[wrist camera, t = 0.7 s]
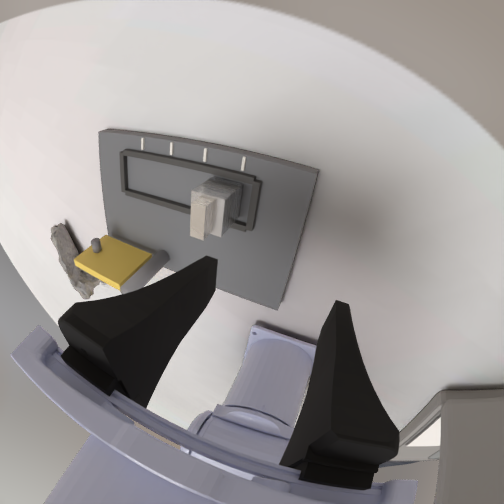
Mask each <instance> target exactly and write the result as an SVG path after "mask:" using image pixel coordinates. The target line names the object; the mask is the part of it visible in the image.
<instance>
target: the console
mask: <svg viewBox="0 0 504 504" xmlns="http://www.w3.org/2000/svg"><path fill="white" fill-rule="evenodd" d="M99 156H100V171H101V182H102V192H103V201H104V209H105V216H106V223H107V230H108V236H110V237H112V238H115V239H117V240H119V241H122V242H124V243H126V244H129V245H131V246H134V247H136V248H138V249H141V250H143V251H146V252H148V253H151V254H152V258H151V259H150V260H148V261H147V262H146V263H145V264H144V265H143V266H142V267H141V268H140V269H139V270H138V271H137V272H136V273H135V274H134V275H133V276H132V277H130V278H129V279H128V280H127V281H126V282H125V283H124V284H123V285H122V286H121V287H120V291H121V293H122V294H125V293H129V292H132V291H135V290H138V289H141V288H143V287H144V286H145V285H146V284H147V283H148V282H149V281H150V279H151V278H152V277H153V276H154V275H155V274H156V273H157V272H158V271H159V270H160V269H161V268H162V267H165V268H167V269H170V270H172V271H174V272H177V271H179V270H181V269H183V268H185V267H187V266H188V265H190V264H192V263H194V262H195V261H197V260H199V259H201V258H203V257H204V256H206V255H207V256H210V257H213V258H216V259H218V265H217V277H216V288H217V289H220V290H223V291H225V292H228V293H230V294H233V295H236V296H239V297H241V298H244V299H247V300H249V301H252V302H255V303H258V304H260V305H263V306H266V307H269V308H272V309H274V310H278V308H279V306H280V303H281V300H282V297H283V294H284V291H285V288H286V284H287V281H288V278H289V275H290V271H291V268H292V265H293V261H294V258H295V255H296V251H297V248H298V244H299V241H300V238H301V234H302V231H303V227H304V223H305V220H306V216H307V213H308V209H309V205H310V202H311V198H312V194H313V191H314V187H315V183H316V179H317V175H318V172H319V170H318V169H315V168H311V167H308V166H305V165H301V164H298V163H294V162H290V161H287V160H283V159H279V158H275V157H271V156H267V155H263V154H259V153H255V152H250V151H246V150H242V149H237V148H232V147H228V146H223V145H218V144H213V143H207V142H202V141H196V140H191V139H185V138H178V137H172V136H165V135H158V134H150V133H142V132H134V131H124V130H114V129H106V130H102V131H99ZM211 177H216V178H220V179H224V180H228V181H232V182H236V183H240V184H243V187H242V194H241V201H240V208H239V215H238V219H237V220H236V221H235V222H234V223H233V225H232V226H231V227H230V228H229V229H228V230H227V231H226V232H225V233H224V235H223V236H222V237H218V236H215V235H212V234H209V235H208V236H207V237H206V238H205V239H204V240H200V239H197V238H195V237H192V236H190V215H191V191H192V190H193V189H195V188H196V187H198V186H199V185H201V184H202V183H204V182H205V181H207V180H208V179H210V178H211Z"/></svg>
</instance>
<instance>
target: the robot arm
mask: <svg viewBox="0 0 504 504" xmlns="http://www.w3.org/2000/svg"><path fill="white" fill-rule="evenodd" d="M217 265H218V259H216V258H213V257H210V256H207V255H206V256H204V257H203V258H201V259H199V260H197V261H195V262H194V263H192V264H190V265H188V266H187V267H185V268H183V269H181V270H179V271H177V272H176V273H174V274H172V275H170V276H168V277H166V278H164V279H162V280H160V281H158V282H156V283H153V284H151V285H149V286H146V287H143V288H141V289H138V290H135V291H132V292H129V293H125V294H122V295H119V296H115V297H110V298H106V299H100V300H95V301H87V302H77V303H75V304H74V305H73V306H72V307H70V308H69V309H68V310H67V311H66V312H65V313H64V314H63V315H62V316H61V317H60V318H59V320H58V324H59V327H60V330H61V331H62V333H63V335H64V337H65V338H66V340H67V342H68V344H69V345H70V346H69V347H68V348H67V349H66V350H65V351H63V350H62V349H60V348H59V347H58V344H57V342H56V341H55V340H54V338H53V337H52V336H51V335H50V334H49V333H48V332H47V331H46V330H44V329H43V328H42V327H41V326H40V325H38V326H37V327H36V328H35V329H34V330H33V331H32V332H31V333H30V334H29V335H28V336H27V337H26V338H25V339H24V340H23V341H22V343H21V344H20V345H19V346H18V347H17V348H16V349H15V350H14V351H13V352H12V353H11V357H12V358H13V360H14V361H15V362H16V363H17V364H18V365H19V367H20V368H21V369H22V370H23V371H24V372H25V374H26V375H27V376H28V377H29V378H30V379H31V380H32V381H33V382H34V383H35V384H36V385H37V386H38V387H39V389H41V391H42V392H43V393H45V395H47V396H48V397H49V398H50V399H51V400H52V401H53V402H54V403H55V404H56V405H57V406H58V407H59V408H61V410H63V411H64V412H65V413H66V414H67V415H68V416H70V417H71V418H72V419H73V420H74V421H75V422H77V423H78V424H79V425H80V426H82V427H83V428H84V429H85V430H87V431H88V432H89V433H91V435H90V436H89V438H88V439H87V441H86V442H85V443H84V445H83V446H82V448H81V449H80V450H79V452H78V453H77V455H76V456H75V458H74V459H73V461H72V462H71V463H70V465H69V467H68V468H67V469H66V471H65V472H64V474H63V475H62V477H61V478H60V480H59V481H58V483H57V484H56V486H55V487H54V489H53V490H52V492H51V493H50V495H49V496H48V498H47V499H46V501H45V502H44V504H414V501H415V496H416V491H417V484H418V481H417V480H391V481H387V482H385V483H375V482H372V481H373V476H374V473H377V472H378V468H379V464H382V463H384V462H387V461H389V460H391V459H393V458H395V457H396V456H397V454H398V451H399V442H400V436H399V435H400V432H399V430H398V429H397V427H396V426H395V425H394V423H393V422H392V420H391V419H390V417H389V416H388V414H387V412H386V411H385V409H384V407H383V406H382V404H381V402H380V400H379V398H378V396H377V394H376V392H375V390H374V388H373V386H372V383H371V381H370V379H369V376H368V374H367V371H366V368H365V366H364V363H363V360H362V357H361V353H360V350H359V347H358V343H357V339H356V335H355V331H354V327H353V322H352V318H351V312H350V307H349V304H347V303H344V302H341V301H338V300H336V301H335V303H334V305H333V307H332V309H331V311H330V313H329V315H328V317H327V319H326V321H325V323H324V325H323V327H322V329H321V333H320V336H319V339H318V343H317V346H316V345H313V344H310V343H307V342H304V341H301V340H298V339H295V338H292V337H289V336H286V335H283V334H280V333H277V332H275V331H272V330H269V329H266V328H263V327H261V326H258V325H253V326H252V328H251V331H250V335H249V339H248V344H247V348H246V352H245V356H244V360H243V364H242V366H241V368H240V370H239V372H238V374H237V377H236V379H235V381H234V383H233V385H232V387H231V389H230V391H229V393H228V395H227V397H226V399H225V401H224V403H223V405H219V404H217V406H216V408H215V410H214V412H212V411H210V410H208V411H205V412H204V413H201V414H199V415H198V416H197V417H196V418H195V419H194V420H193V421H192V423H191V424H190V426H189V428H188V429H187V430H185V429H183V428H181V427H179V426H177V425H175V424H173V423H171V422H169V421H168V420H166V419H164V418H162V417H160V416H158V415H156V414H155V413H153V412H151V411H149V410H147V409H146V408H147V405H148V403H149V401H150V399H151V396H152V394H153V392H154V390H155V388H156V386H157V384H158V382H159V380H160V378H161V376H162V374H163V372H164V370H165V368H166V366H167V365H168V363H169V361H170V359H171V357H172V356H173V354H174V352H175V350H176V349H177V347H178V345H179V344H180V342H181V341H182V339H183V338H184V336H185V335H186V334H187V332H188V331H189V330H190V328H191V327H192V326H193V324H194V323H195V322H196V320H197V319H198V318H199V316H200V315H201V313H202V312H203V311H204V309H205V308H206V307H207V305H208V303H209V301H210V299H211V298H212V296H213V294H214V292H215V289H216V277H217ZM310 375H311V378H310V382H309V387H308V391H307V395H306V398H305V401H304V404H303V407H302V410H301V412H300V415H299V418H298V421H297V423H296V426H295V428H294V425H295V422H296V419H297V416H298V412H299V409H300V406H301V403H302V399H303V396H304V392H305V389H306V385H307V382H308V378H309V377H310ZM124 414H125V415H124ZM127 416H128V417H129V418H128V417H127ZM130 418H131V419H133V420H134V421H136V422H138V423H139V424H141V425H143V426H144V427H146V428H148V429H150V430H151V431H153V432H155V433H157V434H159V435H161V436H162V437H164V438H166V439H168V440H170V441H172V442H174V443H176V444H178V445H180V446H181V448H180V450H179V449H177V448H175V447H173V446H171V445H169V444H167V443H165V442H163V441H161V440H159V439H157V438H156V437H154V436H152V435H150V434H148V433H147V432H145V431H143V430H141V429H140V428H138V427H136V426H135V425H134V422H133V421H132V420H131V419H130Z"/></svg>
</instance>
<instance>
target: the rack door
mask: <svg viewBox="0 0 504 504" xmlns="http://www.w3.org/2000/svg"><path fill="white" fill-rule="evenodd" d="M151 258H152V254H151V253H148V252H146V251H143V250H141V249H138V248H136V247H134V246H131V245H129V244H126V243H124V242H122V241H119V240H117V239H115V238H112V237H110V236H108V235H105V236H103V237H102V238H101V239H99V238H95V239H92V240H91V246H90V247H89V248H87V249H86V250H85V251H83V252H82V253H81V254H80V255H78V256H77V257H76V258H75V259H74V262H75V266H77V267H79V268H80V269H82V270H84V271H86V272H87V273H89V274H91V275H92V276H94V277H96V278H98V279H100V280H101V281H103V282H105V283H107V284H109V285H110V286H112V287H114V288H116V289H118V290H120V287H121V286H122V285H123V284H124V283H125V282H126V281H127V280H128V279H129V278H130V277H132V276H133V275H134V274H135V273H136V272H137V271H138V270H139V269H140V268H141V267H142V266H143V265H144V264H145V263H146V262H147V261H148V260H150V259H151Z"/></svg>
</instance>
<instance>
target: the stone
mask: <svg viewBox="0 0 504 504" xmlns="http://www.w3.org/2000/svg"><path fill="white" fill-rule="evenodd" d="M51 233H52V235H51V240H52V242H53V244H54V246H55V247H56V249H57V251H58V254H59V262H60V264H61V266H62V267H63V269H64V271H65V272H66V274H68V277H69V279H70V282H71V284H72V286H73V287H74V289H75V290H76V291H78V292H79V293H80V295H81V296H82V298H83V299H89V298H90V296H91V295H93V294H94V291H93V290H94V289H93V288H95V286H97V285H99V283H100V281H99V279H98V278H96V277H94V276H92V275H91V274H89V273H87V272H86V271H84V270H82V269H80V268H79V267H77V266H75V262H74V259H75V258H76V257H77V256H78V255H79V254H78V250H77V249H76V247H75V245H74V243H73V241H72V239H71V237H70V235H69V233H68V231H67V229H66V227H65V226H64V225H63V224H62V223H60V224H58V227H52V228H51Z"/></svg>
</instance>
